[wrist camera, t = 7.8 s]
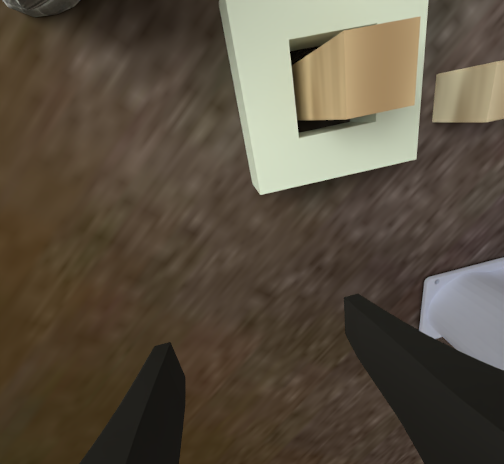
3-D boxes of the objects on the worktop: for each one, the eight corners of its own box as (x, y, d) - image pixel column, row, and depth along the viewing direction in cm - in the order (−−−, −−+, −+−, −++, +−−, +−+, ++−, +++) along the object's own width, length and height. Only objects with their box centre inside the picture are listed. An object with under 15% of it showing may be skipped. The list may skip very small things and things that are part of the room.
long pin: (335, 58, 16) (420, 16, 10) (337, 111, 17) (414, 105, 11) (288, 67, 16) (343, 30, 9) (294, 120, 17) (346, 119, 11)
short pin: (477, 65, 17) (548, 51, 14) (470, 113, 19) (533, 111, 15) (436, 74, 17) (497, 61, 14) (431, 122, 18) (486, 122, 15)
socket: (391, -26, 15) (433, -59, 12) (386, 153, 19) (416, 159, 16) (218, 5, 14) (221, -24, 11) (252, 184, 18) (260, 194, 15)
